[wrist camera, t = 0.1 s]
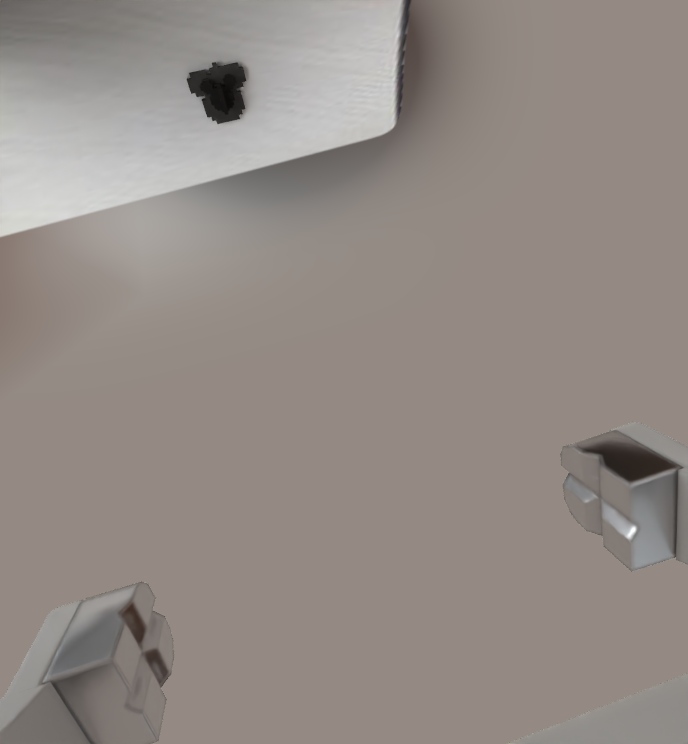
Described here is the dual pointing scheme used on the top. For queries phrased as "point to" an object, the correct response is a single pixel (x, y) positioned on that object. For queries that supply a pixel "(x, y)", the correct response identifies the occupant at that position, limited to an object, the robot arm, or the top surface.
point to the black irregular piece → (220, 91)
